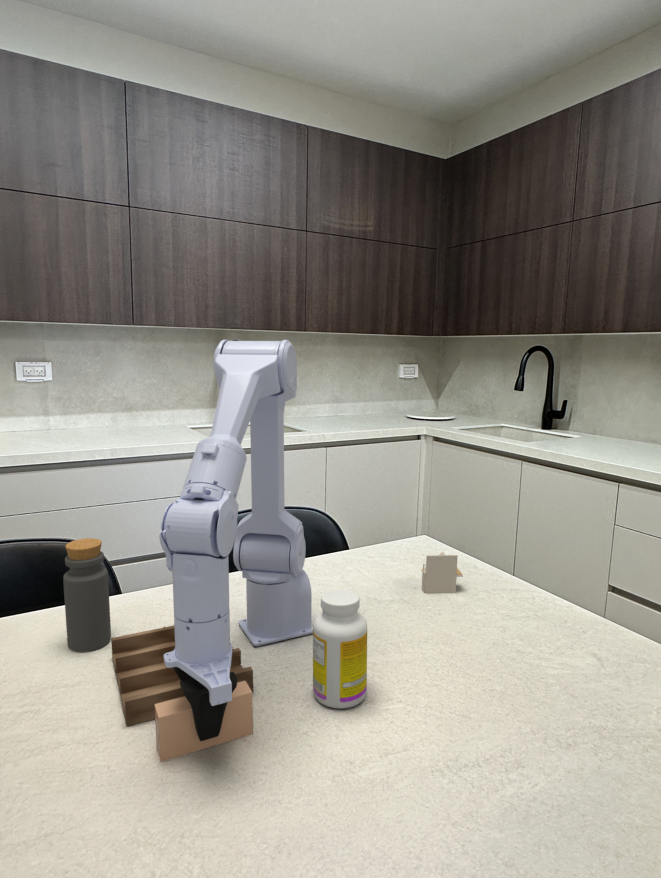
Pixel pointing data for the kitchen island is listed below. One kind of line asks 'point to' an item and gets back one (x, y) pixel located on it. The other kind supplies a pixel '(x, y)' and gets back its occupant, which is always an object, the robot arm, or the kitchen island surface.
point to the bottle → (86, 596)
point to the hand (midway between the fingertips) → (205, 728)
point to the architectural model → (440, 574)
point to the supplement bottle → (340, 650)
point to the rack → (153, 672)
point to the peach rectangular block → (179, 726)
